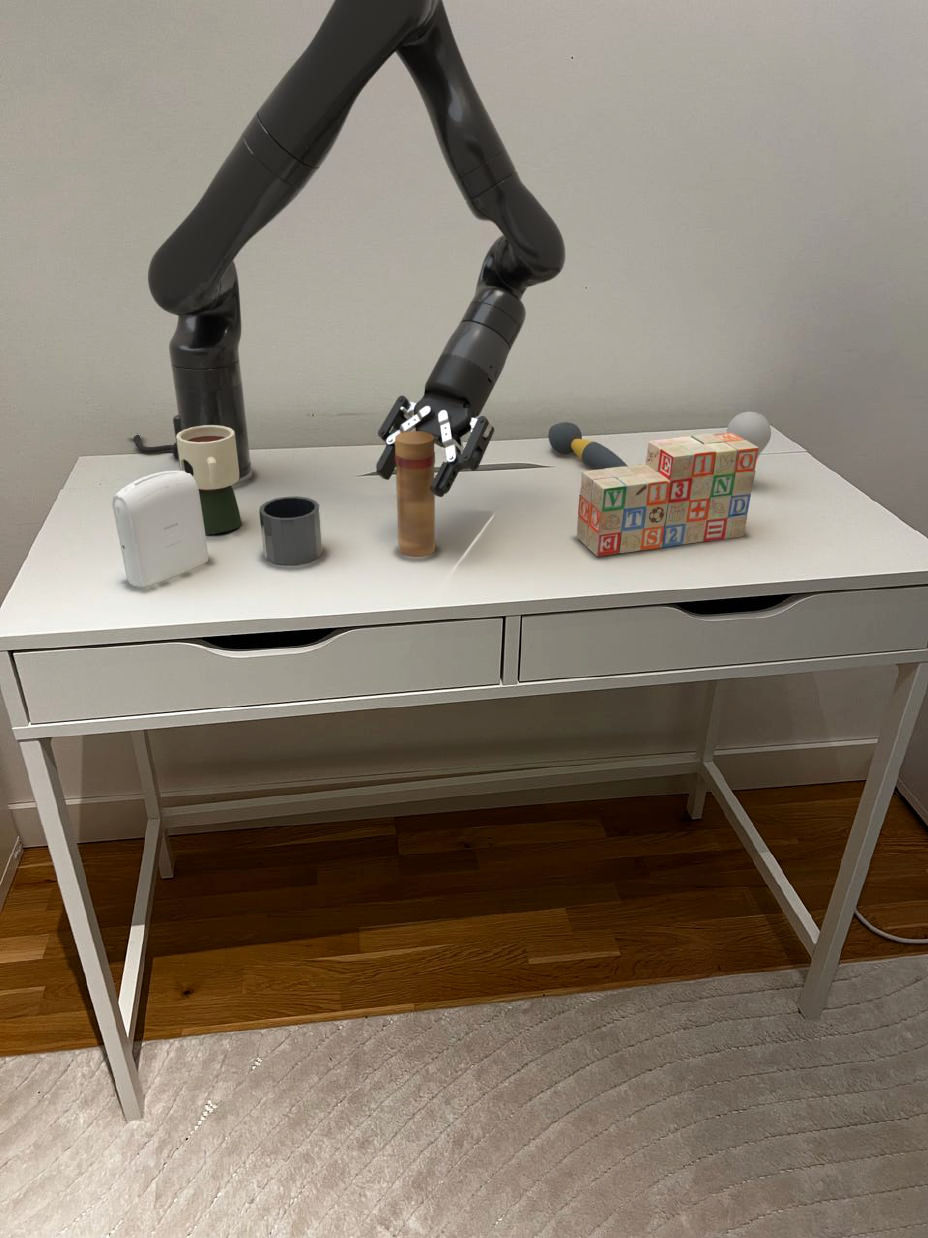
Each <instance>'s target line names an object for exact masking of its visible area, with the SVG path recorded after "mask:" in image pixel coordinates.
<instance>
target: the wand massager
mask: <svg viewBox="0 0 928 1238" xmlns="http://www.w3.org/2000/svg"><path fill="white" fill-rule="evenodd" d="M547 436H548V437H547V438H548V441H549V444H550V447H551V448H552V450H553V451H554V452H556V453H558V454H560V455H570V454H573V453H574V454H575V455H576V456H577V457H578V459H579V460H580V461H581V462H582V463H583V464H585V465H586V466H588V467H589V468H591V469H592V470H598V469H606V468H614V467H623V466H625V467H626V466H628V465H627V464H626V462H625V461H624V460H623V459H622V458H621V457H620V456H618V455H617V454H616V453H615V452H614V451H612V450H611V449H609V448H608V447H606V446H604V445H602V444H601V443H600V442H597V441H594V440H589V439H583V435H582V431H581V429H580V428H579V426H577V424H575V423H573V422H569V421H564V422H559V423H555V424H552V425H551V426H550V428H549V430H548V435H547Z"/></svg>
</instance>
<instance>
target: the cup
mask: <svg viewBox="0 0 928 1238" xmlns="http://www.w3.org/2000/svg"><path fill="white" fill-rule="evenodd" d="M258 513H259V521H260V522H259V523H260V532H261V540H262V541H261V542H262V550H263V556H264V558H265V559H266V561H267V562H269V563H272V564H274V565H277V566H285V567H287V566H288V567H290V566H291V567H293V566H301V565H306V564H309V563H312V562H314V561H317V560H318V559H320V557H321V556H322V555H323V549H324V548H323V536H322V522H321V508H320V504H319V503H318V502H317V501H316V500H314V499H313V498H312V499H311V498H310V497H304V496H296V495H295V496H283V497H282V496H281V497H277V498H273V499H269V500H267V501H266V502H264V503H262V504H261V505H260V507H259V511H258Z"/></svg>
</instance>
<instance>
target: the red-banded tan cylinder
mask: <svg viewBox="0 0 928 1238" xmlns="http://www.w3.org/2000/svg"><path fill="white" fill-rule="evenodd" d="M395 463H396V468H395V479H396V480H395V481H396V483H395V484H396V519H397V520H396V521H397V549H398V552H399V553H400V554H401V555H403V556H406V557H411V558H421V557H426V556H430V555H432V554H433V553H434V552H435V550H436V502H435V501H436V497H435V496H436V495H435V494H434V493H433V492H432V491H431V490H430V487H431V484H432V482H433V480H434V478H435V477H436V475H435V464H436V452H435V444H434V436H433V435H432V434H430V433H427V432H422V431H416V430H411V431H408V432H403V433H400V434H398V435H396V437H395Z"/></svg>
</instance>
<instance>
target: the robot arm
mask: <svg viewBox="0 0 928 1238" xmlns="http://www.w3.org/2000/svg"><path fill="white" fill-rule="evenodd" d="M450 23H451V22H450V21H449V16H448V15H447V11H446V7H445V5H444V1H443V0H334V1H333V3H332V5H331V6H330V7H329V9H328V12H327V14H326V15H325V17H324V19H323V21H322V22H321V24H320V25H319V28H318V30H317V31H316V33H315V34H314V36H313V38H312V39H311V40H310V42H309V43H308V46H307V47H306V48H305V50H304V51H302V53H301V55H299V57H298V58H296V60H295V61H294V63H293V64H292V65H291V67H289V69H288V70H287V71H286V72H285V74H284V75H283V76H282V77H281V79H280V80H279V82H277V84H276V86H275V87H274V88H273V90H272V91H271V92H270V94H269V95H268V96H267V97H266V99H265V100H264V101H263V102H262V104H261V106H259V108H258V110H257V111H256V113H254V115H253V117H252V118H251V120H250V121H249V123H248V124H247V126H246V127H245V128H244V130H243V131H242V133H241V134H240V136H239V138H238V139H237V141H236V142H235V144H234V146H233V148H232V149H231V150H230V152H229V153H228V155H227V157H226V158H225V159H224V161H223V163H222V164H221V166H220V167H219V168H218V170H217V172H216V173H215V174H214V176H213V178H212V180H211V181H210V183H209V185H208V186H207V188H206V190H205V192H204V193H203V194H202V196H201V198H200V199H199V201H198V202H197V204H196V205H195V206H194V208H193V209H192V210H191V211H190V212H189V213H188V215H187V216H186V217H185V218H184V219H183V220H182V222H180V224H179V225H178V226H177V227H176V229H175V230H174V231H172V233H171V234H170V235H169V236H168V238H166V239H165V241H164V242H163V243H162V244H161V245H160V246H159V247H158V248H157V250H156V251H155V252H154V254H153V255H152V257H151V259H150V262H149V266H148V269H147V270H148V271H147V284H148V289H149V292H150V295H151V297H152V298H153V299H152V300H154V302H155V303H156V305H157V306H158V307H159V308H160V309H162V310H163V311H165V312H167V313H169V314H171V315H175V316H177V324H176V326H175V327H176V328H175V331H174V333H173V334H172V337H171V339H170V340H169V343H168V353H169V359H170V365H171V372H172V379H173V387H174V392H175V400H176V406H177V415H174V417H172V423H173V430H174V436H175V443H173V444H164V445H156V446H145V445H143V443H142V437H141V438H140V436H141V435H140V436H139V435H136V436H135V435H134V437H133V442H134V443H135V446H136V448H137V449H138V450H139V451H141V452H143V453H145V454H155V453H162V452H172V455H173V457H174V458H175V459H178V464H179V466H180V460H179V452H178V445H177V438H176V436H177V434H178V433H179V432H181V431H183V430H185V429H188V428H191V427H197V426H204V425H217V426H225V427H228V428H231V429H232V430H233V431H234V432H235V440H236V448H237V457H238V466H239V480H238V481H237V482H236V483H235V484H233V485H231V486H235V485H240V484H242V483H244V482H246V481H248V480H251V479H252V477H253V467H252V462H251V456H250V455H251V453H250V444H249V435H248V426H247V415H246V407H245V399H244V398H245V397H244V390H243V381H242V380H243V379H242V372H241V362H240V352H239V350H240V349H239V347H240V342H241V337H242V314H241V311H242V310H241V297H240V285H239V276H238V270H237V267H236V263H235V261H234V260H235V259H236V258H237V256H238V254H239V253H240V252H241V251H242V249H243V248H244V247H245V246H246V245H247V244H248V243H249V241H250V240H252V239H253V238H254V237H255V236H256V235H257V234H258V233H259V232H260V231H262V229H264V228H265V227H266V226H267V225H268V224H270V223H271V222H272V221H273V220H274V219H276V217H278V215H280V214H281V213H282V212H283V211H284V210H285V209H286V208H287V207H288V206H289V205H290V204H292V202H294V201H295V199H296V198H297V197H298V196H299V195H300V194H301V193H302V191H303V190H304V189H305V188H306V186H307V185H308V184H309V183H310V181H311V180H312V178H313V177H314V176H315V175H316V173H317V172H318V171H319V169H320V168H321V166H322V165H323V164H324V162H325V161H326V159H327V158H328V157H329V155H330V154H331V151H332V150H333V148H334V146H335V144H336V142H337V140H338V139H339V137H340V135H341V132H342V130H343V128H344V126H345V124H346V121H347V119H348V117H349V115H350V113H351V110H352V108H353V106H354V104H355V103H356V101H357V99H358V97H359V96H360V94H361V93H362V92H363V90H364V88H365V87H366V86H367V84H368V83H369V82H370V81H371V80H372V78H374V76H375V75H376V74H377V73H378V72H379V70H380V69H381V68H382V67H383V66H384V65H385V64H386V62H387V61H388V60H390V58H391V57H392V56H393V55H394V54H396V55H397V56H398V58H399V59H400V61H401V62H402V64H403V65H404V67H405V68H406V70H407V72H408V73H409V75H410V77H411V79H412V81H413V82H414V84H415V85H414V86H415V87H416V88H417V91H418V93H419V95H420V98H421V99H422V102H423V104H424V107H425V109H426V112H427V114H428V117H429V120H430V122H431V125H432V126H431V127H432V129H433V131H434V136H435V139H436V142H437V145H438V147H439V149H440V152H441V155H442V157H443V159H444V161H445V164H446V165H447V168H448V171H449V173H450V175H451V176H452V178H453V180H454V182H455V184H456V186H457V188H458V191H459V192H460V194H461V196H462V198H463V200H464V201H465V204H466V205H467V207H468V209H469V211H470V212H471V214H472V215H473V216H474V218H475V219H476V220H478V221H482V222H490V223H492V224H494V225H495V226H496V227H497V229H498V230H499V231H500V233H501V235H500V236H499V237H498V238H496V240H495V241H493V243H492V245H491V246H490V247H489V249H488V250H487V253H486V254H485V256H484V259H483V262H482V265H481V268H480V271H479V275H478V278H477V283H476V287H475V291H474V296H473V298H471V299H472V300H471V301H470V303H469V305H468V306H467V308H466V309H465V312H464V314H463V316H462V318H461V320H460V322H459V323H458V325H457V327H456V328H455V330H454V331H453V333H451V336H450V337H449V338H448V340H447V342H446V344H445V345H444V347H443V350H442V351H441V353H440V355H439V357H438V359H437V360H436V363H435V365H434V366H433V369H432V370H431V372H430V375H429V376H428V378H427V380H426V382H425V384H424V391H423V396H422V397H421V399H420V400H418V401H417V402H413V401H411V400H409V399H408V398H407V397H406V396H405V395H402V394H401V395H399V396H398V397H397V398H396V400H395V402H394V404H393V405H392V407H391V409H390V410H389V413H388V414H387V415H386V417H385V419H384V420H383V422H382V424H381V426H380V428H379V429H378V431H377V436H378V437H379V438H380V439H381V440H382V441H383V442H384V443H385V447H384V450H383V451H382V453H381V455H380V457H379V459H378V460H377V463H376V465H375V472H376V474H377V475H378V476H379V478H381V479H383V480H385V481H389V480H390V479H391V477H392V476H393V473H394V472H395V470H396V463H395V437H396V435H398V434H400V433H403V432H408V431H413V430H414V431H422V432H427V433H430V434H432V435H433V436H434V445H436V446H438V447H440V448H443V449H444V450H445V458H446V461H442V463H441V465H440V466H439V468H438V471H437V473H436V475H435V478H434V480H433V482H432V484H431V487H430V490H431V491H432V492H433V493H434V494H435V496H436V497H438V498H443V497H444V496H445V495H446V494H448V493H449V492H450V490H451V488H452V486H453V484H454V482H455V481H456V478H457V477H458V475H459V473H460V472H462V471H463V470H467V469H468V470H470V471H476V470H478V468H479V466H480V465H481V462H482V460H483V458H484V455H485V453H486V451H487V449H488V447H489V444H490V441H491V440H492V437H493V435H494V432H495V427H494V425H493V424H492V423H491V421H490V420H489V419H488V418H487V417H486V416H485V415H481V413H482V411H483V409H484V407H485V405H486V404H487V401H488V400H489V398H490V395H491V393H492V392H493V390H494V387H495V385H496V384H497V382H498V380H499V378H500V376H501V374H502V372H503V370H504V368H505V365H506V361H507V359H508V356H509V354H510V352H511V350H512V348H513V346H514V344H515V342H516V340H517V339H518V336H519V334H520V332H521V330H522V328H523V325H524V323H525V320H526V316H527V311H526V307H525V305H524V303H523V301H522V299H523V296H524V294H525V292H526V291H527V290H528V289H529V288H531V287H533V286H536V285H537V286H538V285H540V284H544V283H547V282H550V281H552V280H553V279H555V278H556V277H557V276H558V275H559V274H560V273H561V272H562V270H563V268H564V266H565V261H566V246H565V241H564V238H563V235H562V233H561V231H560V228H559V226H558V225H557V223H556V222H555V221H554V219H553V218H552V216H551V215H550V214H549V213H548V211H547V210H546V209H545V208H544V206H543V205H542V204H541V203H540V201H539V200H538V199H537V197H536V196H535V195H534V194H533V193H532V191H530V189H528V188H527V187H526V185H525V184H524V183H523V182H522V179H521V178H520V175H519V173H518V170H517V169H516V167H515V164H514V163H513V160H512V158H511V156H510V154H509V152H508V150H507V148H506V146H505V143H504V142H503V139H502V138H501V136H500V134H499V131H498V130H497V128H496V127H495V124H494V122H493V120H492V118H491V116H490V114H489V113H488V111H487V109H486V107H485V104H484V103H483V100H482V99H481V97H480V95H479V92H478V91H477V89H476V86H475V85H474V82H473V80H472V78H471V75H470V73H469V71H468V69H467V66H466V64H465V62H464V59H463V57H462V54H461V51H460V49H459V47H458V44H457V41H456V38H455V35H454V33H453V29H452V26H451V24H450ZM480 415H481V416H480ZM478 416H479V417H478ZM477 417H478V418H477ZM468 433H470V435H469V437H468V439H467V442H466V444H465V446H464V442H463V437H464V436H465V435H467V434H468ZM179 471H181V468H180V467H179Z"/></svg>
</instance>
